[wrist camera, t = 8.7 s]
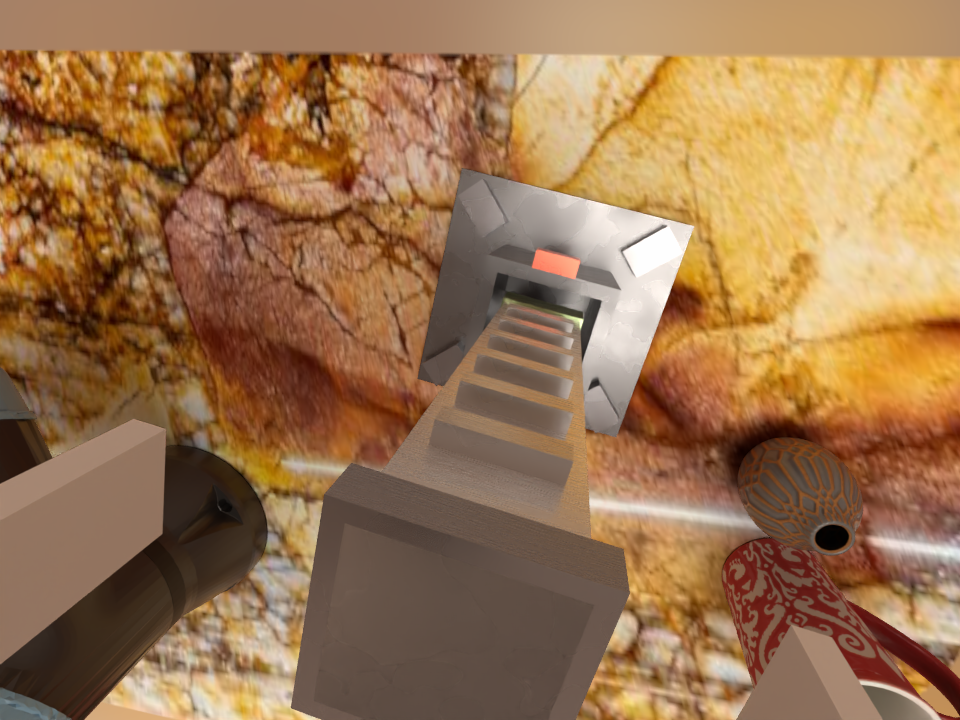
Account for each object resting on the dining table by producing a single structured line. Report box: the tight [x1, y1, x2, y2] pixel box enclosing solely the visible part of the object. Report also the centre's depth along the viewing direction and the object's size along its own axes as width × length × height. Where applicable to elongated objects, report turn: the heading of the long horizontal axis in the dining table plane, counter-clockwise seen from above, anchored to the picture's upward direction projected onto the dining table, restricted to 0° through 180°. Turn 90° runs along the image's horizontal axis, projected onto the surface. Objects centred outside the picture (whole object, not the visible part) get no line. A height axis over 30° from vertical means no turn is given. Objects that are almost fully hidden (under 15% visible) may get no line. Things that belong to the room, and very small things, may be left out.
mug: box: [722, 538, 960, 720], centre depth 34 cm, size 13×9×14 cm
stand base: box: [418, 168, 694, 437], centre depth 33 cm, size 16×16×10 cm
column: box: [291, 291, 630, 720], centre depth 19 cm, size 5×5×22 cm
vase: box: [738, 437, 863, 555], centre depth 33 cm, size 7×7×9 cm
